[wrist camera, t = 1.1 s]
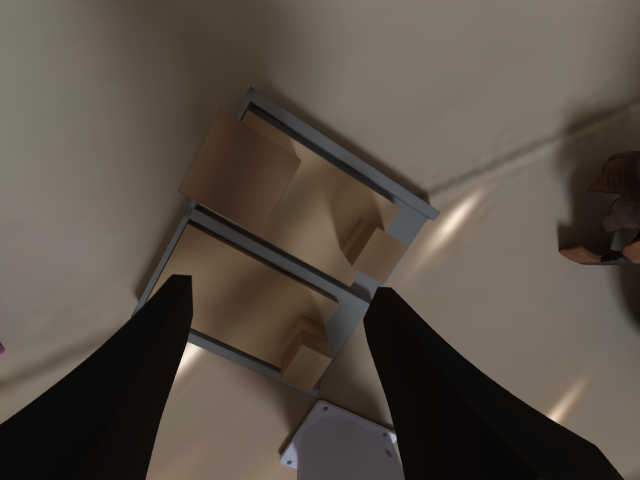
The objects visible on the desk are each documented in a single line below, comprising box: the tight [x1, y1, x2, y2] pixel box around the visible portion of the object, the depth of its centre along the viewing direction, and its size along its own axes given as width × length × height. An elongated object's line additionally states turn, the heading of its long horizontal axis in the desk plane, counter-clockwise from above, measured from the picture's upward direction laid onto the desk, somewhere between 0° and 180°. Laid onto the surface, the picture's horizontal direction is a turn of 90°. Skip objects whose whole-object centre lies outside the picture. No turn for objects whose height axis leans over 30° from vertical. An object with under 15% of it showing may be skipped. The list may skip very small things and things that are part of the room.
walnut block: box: [178, 109, 302, 235], centre depth 18 cm, size 5×5×5 cm
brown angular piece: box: [198, 110, 407, 287], centre depth 19 cm, size 14×8×5 cm, turn 59°
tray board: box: [131, 87, 440, 398], centre depth 22 cm, size 17×20×2 cm
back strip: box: [147, 222, 339, 392], centre depth 20 cm, size 14×8×5 cm, turn 59°
